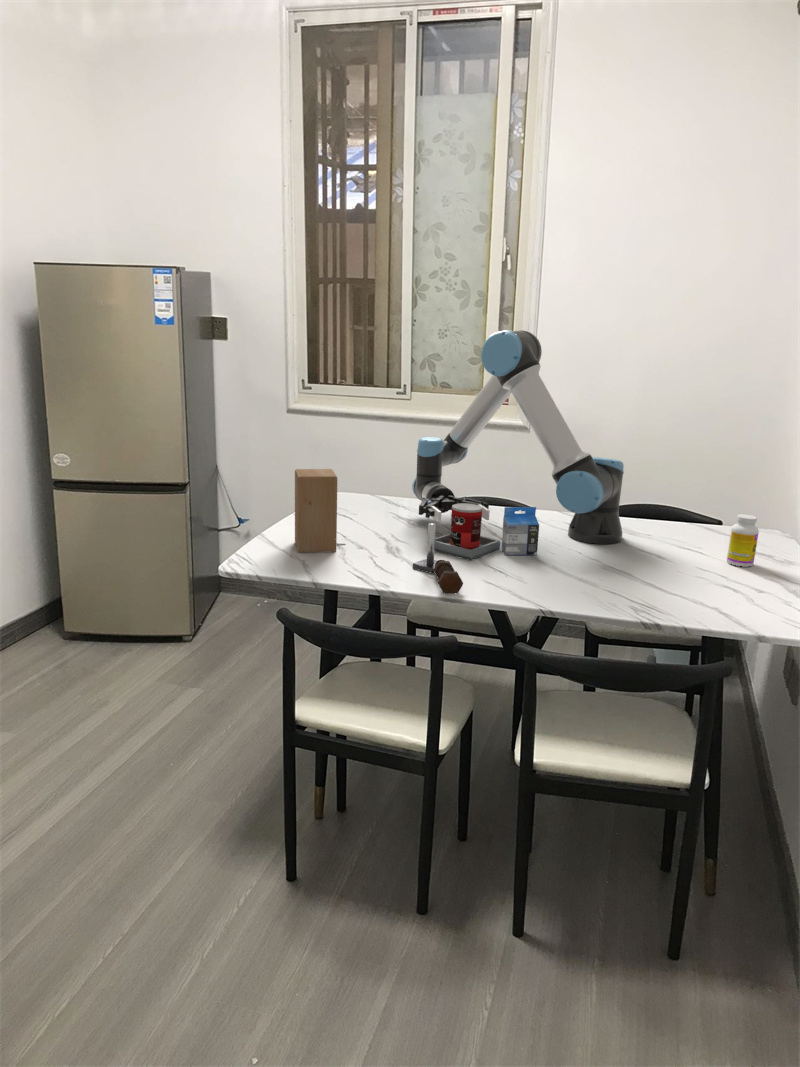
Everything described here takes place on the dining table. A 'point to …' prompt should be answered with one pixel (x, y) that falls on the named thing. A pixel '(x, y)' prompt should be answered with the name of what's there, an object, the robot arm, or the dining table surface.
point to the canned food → (466, 525)
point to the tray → (484, 548)
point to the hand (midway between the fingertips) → (464, 516)
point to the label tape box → (520, 531)
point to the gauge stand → (428, 552)
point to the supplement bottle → (743, 541)
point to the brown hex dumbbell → (447, 577)
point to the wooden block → (315, 510)
